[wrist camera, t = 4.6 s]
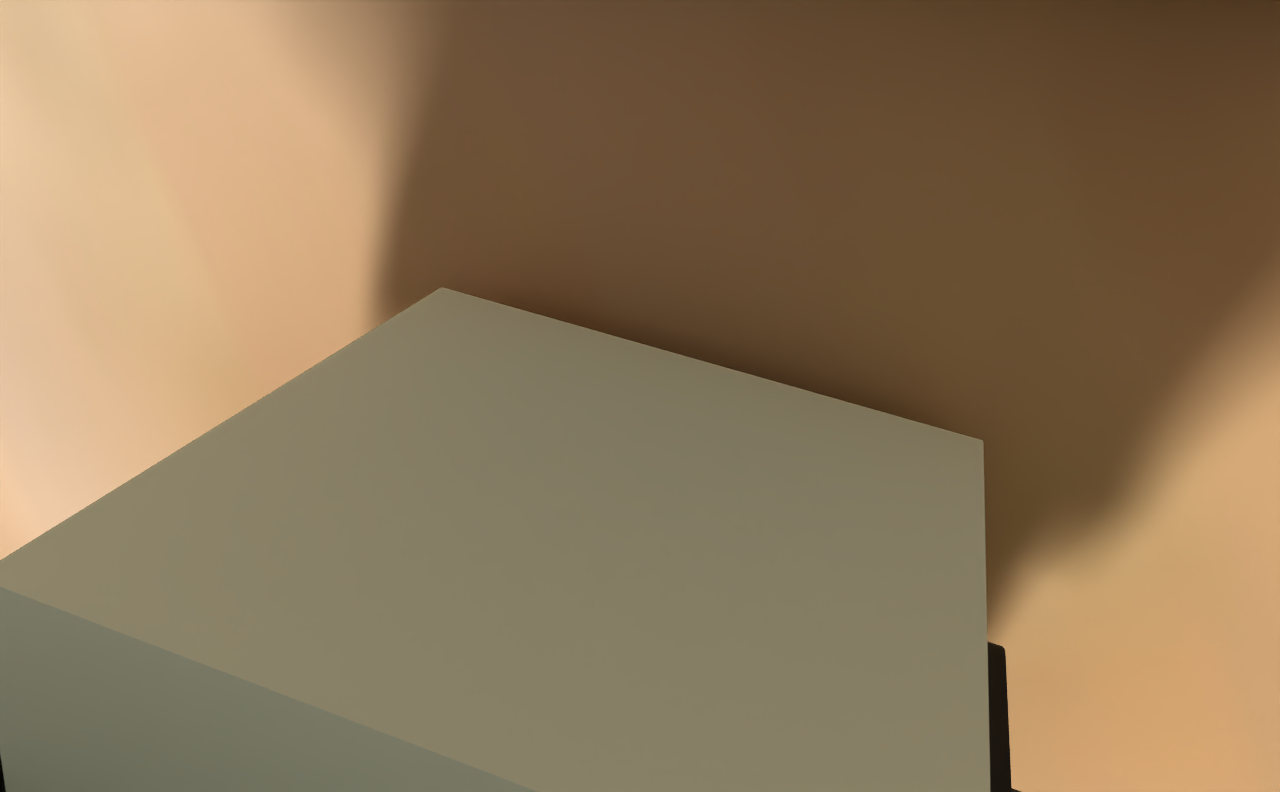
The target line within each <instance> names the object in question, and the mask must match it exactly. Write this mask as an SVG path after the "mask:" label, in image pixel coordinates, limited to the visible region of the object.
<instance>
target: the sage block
mask: <svg viewBox="0 0 1280 792" xmlns="http://www.w3.org/2000/svg"><path fill="white" fill-rule="evenodd" d="M0 755H1V762H2V769H3V775H4V782H5V789H6V792H990V746H989V696H988V645H987V595H986V545H985V495H984V445H983V440H980V439H977V438H973V437H969V436H966V435H962V434H959V433H955V432H952V431H948V430H945V429H941V428H938V427H934V426H931V425H927V424H924V423H920V422H917V421H913V420H909V419H906V418H902V417H899V416H895V415H892V414H888V413H885V412H881V411H878V410H874V409H871V408H867V407H864V406H860V405H857V404H853V403H849V402H846V401H842V400H839V399H835V398H832V397H828V396H825V395H821V394H818V393H814V392H811V391H807V390H804V389H800V388H796V387H793V386H789V385H786V384H782V383H779V382H775V381H772V380H768V379H765V378H761V377H758V376H754V375H751V374H747V373H744V372H740V371H736V370H733V369H729V368H726V367H722V366H719V365H715V364H712V363H708V362H705V361H701V360H698V359H694V358H691V357H687V356H684V355H680V354H676V353H673V352H669V351H666V350H662V349H659V348H655V347H652V346H648V345H645V344H641V343H638V342H634V341H631V340H627V339H624V338H620V337H616V336H613V335H609V334H606V333H602V332H599V331H595V330H592V329H588V328H585V327H581V326H578V325H574V324H571V323H567V322H564V321H560V320H556V319H553V318H549V317H546V316H542V315H539V314H535V313H532V312H528V311H525V310H521V309H518V308H514V307H511V306H507V305H503V304H500V303H496V302H493V301H489V300H486V299H482V298H479V297H475V296H472V295H468V294H465V293H461V292H458V291H454V290H451V289H447V288H443V287H441V288H439V289H437V290H436V291H434V292H433V293H431V294H429V295H428V296H426V297H424V298H423V299H421V300H420V301H418V302H416V303H415V304H413V305H412V306H410V307H408V308H407V309H405V310H403V311H402V312H400V313H399V314H397V315H395V316H394V317H392V318H391V319H389V320H387V321H386V322H384V323H383V324H381V325H379V326H378V327H376V328H374V329H373V330H371V331H370V332H368V333H366V334H365V335H363V336H362V337H360V338H358V339H357V340H355V341H353V342H352V343H350V344H349V345H347V346H345V347H344V348H342V349H341V350H339V351H337V352H336V353H334V354H333V355H331V356H329V357H328V358H326V359H324V360H323V361H321V362H320V363H318V364H316V365H315V366H313V367H312V368H310V369H308V370H307V371H305V372H303V373H302V374H300V375H299V376H297V377H295V378H294V379H292V380H291V381H289V382H287V383H286V384H284V385H282V386H281V387H279V388H278V389H276V390H274V391H273V392H271V393H270V394H268V395H266V396H265V397H263V398H262V399H260V400H258V401H257V402H255V403H253V404H252V405H250V406H249V407H247V408H245V409H244V410H242V411H241V412H239V413H237V414H236V415H234V416H232V417H231V418H229V419H228V420H226V421H224V422H223V423H221V424H220V425H218V426H216V427H215V428H213V429H212V430H210V431H208V432H207V433H205V434H203V435H202V436H200V437H199V438H197V439H195V440H194V441H192V442H191V443H189V444H187V445H186V446H184V447H182V448H181V449H179V450H178V451H176V452H174V453H173V454H171V455H170V456H168V457H166V458H165V459H163V460H162V461H160V462H158V463H157V464H155V465H153V466H152V467H150V468H149V469H147V470H145V471H144V472H142V473H141V474H139V475H137V476H136V477H134V478H132V479H131V480H129V481H128V482H126V483H124V484H123V485H121V486H120V487H118V488H116V489H115V490H113V491H111V492H110V493H108V494H107V495H105V496H103V497H102V498H100V499H99V500H97V501H95V502H94V503H92V504H91V505H89V506H87V507H86V508H84V509H82V510H81V511H79V512H78V513H76V514H74V515H73V516H71V517H70V518H68V519H66V520H65V521H63V522H61V523H60V524H58V525H57V526H55V527H53V528H52V529H50V530H49V531H47V532H45V533H44V534H42V535H41V536H39V537H37V538H36V539H34V540H32V541H31V542H29V543H28V544H26V545H24V546H23V547H21V548H20V549H18V550H16V551H15V552H13V553H11V554H10V555H8V556H7V557H5V558H3V559H2V560H0Z"/></svg>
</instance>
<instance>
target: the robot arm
mask: <svg viewBox="0 0 1280 792" xmlns="http://www.w3.org/2000/svg"><path fill="white" fill-rule="evenodd" d="M987 645H988V696H989V746H990V792H1020V791H1018V790H1015V789H1012V788H1011V769H1010V746H1009V724H1008V701H1007V679H1006V656H1005V649H1004V648H1003V647H1002V646H999V645H996V644H993V643H990V642H987ZM0 792H6V789H5V782H4V775H3V769H2V762H1V755H0Z"/></svg>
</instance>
